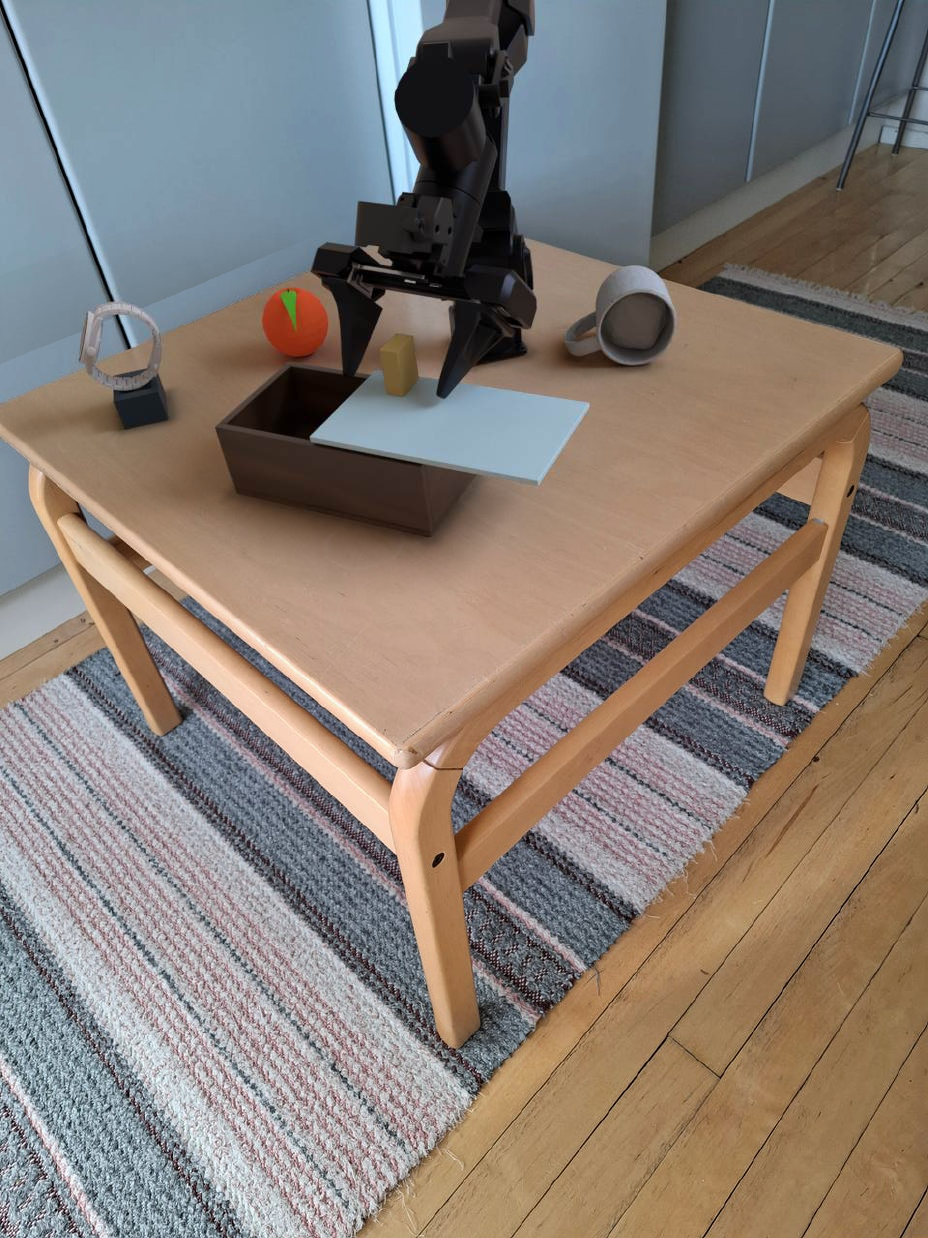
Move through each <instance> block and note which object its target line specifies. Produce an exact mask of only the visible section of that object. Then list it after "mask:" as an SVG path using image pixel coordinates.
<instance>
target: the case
mask: <svg viewBox="0 0 928 1238" xmlns="http://www.w3.org/2000/svg"><path fill="white" fill-rule="evenodd" d="M371 375H372V374H370V373H363V372H357V371H356V373H355V375H354V377H353V378H348V377H346V376H344V375H343V370H342V369H338V368H332V367H325V366H319V365H313V364H306V363H300V362H295V361H287V362H286V363H285V364H284V365H283V366H282V367H281V368H280V369H279V370H277V371H276V372H275V373H274V374H273V375H271V376H270V377H269V378H268V379H267V380H266V381H265V382H264V383H263V384H261V385H259V387H258V388H257V389H255V391H253V392H252V393H251V394H250V395H249V396H248V397H246V399H244V400H243V401H242V402H241V403H240V404H239V405H238V406H236V407H235V408H234V409H233V410H232V411H231V412H229V413H228V414H227V415H226V416H225V417H224V418H223V419H222V420H221V421H219V423H217V424H215V426H214V429H215V433H216V435H217V438H218V442H219V445H220V449H221V451H222V454H223V456H224V457H223V458H224V460H225V463H226V466H227V469H228V472H229V476H230V478H231V481H232V484H233V487H234V491H235V493H236V494H239V495H244V496H247V497H251V498H252V497H253V498H257V499H261V500H266V501H269V502H275V503H279V504H284V505H289V506H292V507H296V508H301V509H305V510H310V511H314V512H318V513H321V514H322V513H323V514H326V515H331V516H335V517H340V518H345V519H350V520H353V521H358V522H361V523H362V522H363V523H368V524H372V525H375V526H379V527H385V528H389V529H392V530H398V531H402V532H406V533H411V534H415V535H420V536H424V537H428V538H431V537H433V535H434V533H435V532H436V531H437V529H438V528H439V527H440V526H441V524H442V523H443V522H444V520H445V519H446V517H447V516H448V515H449V514H450V512H451V511H452V509H453V508H454V506H455V505H456V504H457V503H458V501H459V500H460V499H461V497H462V496H463V494H464V493H465V491H466V490H467V489H468V488H469V486H470V485H471V484H472V482H473V481H474V480H475V478H476V476H478V474H473V473H468V472H462V471H457V470H452V469H447V468H442V467H437V466H432V465H427V464H421V463H416V462H411V461H406V460H401V459H396V458H391V457H386V456H380V455H375V454H370V453H365V452H360V451H355V450H350V449H345V448H339V447H334V446H329V445H324V444H319V443H314V442H311V440H310V436H311V435H312V434H313V433H314V432H315V431H316V430H317V429H318V428H319V427H320V426H321V425H322V424H323V423H324V422H325V421H326V420H327V419H328V418H329V417H330V416H331V415H332V414H333V413H334V412H335V411H336V410H337V409H338V408H339V407H340V406H341V405H342V404H343V403H344V402H345V401H346V400H347V399H348V398H349V397H350V396H351V395H352V394H353V393H354V392H355V391H356V390H357V389H358V388H359V387H360V386H361V385H362V384H363V383H364V382H365V381H366V380H367V379H368V378H369V377H370V376H371Z"/></svg>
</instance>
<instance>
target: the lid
mask: <svg viewBox="0 0 928 1238" xmlns="http://www.w3.org/2000/svg"><path fill="white" fill-rule="evenodd" d="M379 357H380V364H381V369H382V370H381V369H376V370H374V371H373V372H372V373H371V374H370V375H371V376H370V377H369V378H368V379H367V380H366V381H365V382H364V383H363V384H362V385H361V386H360V387H359V388H358V389H357V390H356V391H355V392H354V393H353V394H352V395H351V396H350V397H349V398H348V399H347V400H346V401H345V402H344V403H343V404H342V405H341V406H340V407H339V408H338V409H337V410H336V411H335V412H334V413H333V414H332V415H331V416H330V417H329V418H328V419H327V420H326V421H325V422H324V423H323V424H322V425H321V426H320V427H319V428H318V429H317V430H316V431H315V432H314V433H313V434H312V435H311V436H310V440H311V442H314V443H319V444H324V445H329V446H334V447H339V448H345V449H350V450H355V451H360V452H365V453H370V454H375V455H380V456H386V457H391V458H396V459H401V460H406V461H411V462H416V463H421V464H427V465H432V466H437V467H442V468H447V469H452V470H457V471H462V472H468V473H473V474H477V476H478V475H479V476H483V477H489V478H494V479H499V480H505V481H509V482H515V483H520V484H524V485H530V486H533V487H534V486H535V487H539V486H540V484H541V482H542V481H543V480H544V478H545V476H546V475H547V474H548V471H549V470H550V469H551V468H552V466H553V465H554V463H555V461H556V460H557V458H558V457H559V455H560V454H561V452H562V450H563V449H564V447H565V446H566V445H567V443H568V442H569V440H570V438H571V436H572V435H573V434H574V432H575V430H576V429H577V427H578V426H579V424H580V423H581V421H582V420H583V418H584V417H585V415H586V414H587V412H588V411H589V409H590V403H589V402H587V401H580V400H574V399H567V398H560V397H556V396H555V397H554V396H548V395H542V394H535V393H530V392H524V391H523V392H522V391H516V390H509V389H503V388H496V387H491V386H485V385H478V384H471V383H466V382H460V383H459V384H458V385H457V386H456V387H455V388H454V390H453V391H452V392H451V393H450V394H449V395H448V397H447V398H446V399H441V398H439V397H438V396H437V395H436V391H437V386H438V381H439V378H433V377H425V376H421V375H419V370H418V369H419V367H418V360H417V353H416V346H415V339H414V335H412V334H404V333H395V334H394V335H393V336H392V337H391V338H390V339H388V340H387V342H386V343H385V344H384V345H383V346H382V347H381V348H380V349H379Z"/></svg>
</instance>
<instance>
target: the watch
mask: <svg viewBox="0 0 928 1238" xmlns="http://www.w3.org/2000/svg"><path fill="white" fill-rule="evenodd" d="M116 315H121V316H129V317H132V318H134V319H138V320H139V321H141V322H143V324H145V325H146V326H147V327H148V328H149V329H150V330H151V333H152V349H151V354H150V356H149V357H150V358H149V360H148V363H147V364H146V366H147V367H146V368H141V369H137V370H133V371H129V372H123V373H118V374H114V375H111V374H108V373H106V372H104V371H103V370H101V369H99V368H98V367H96V365H95V364H96V362H97V361H98V358H99V353H100V348H101V342H102V336H103V330H104V329H103V328H104V318H106V317H108V316H116ZM81 330H82V331H81V336H80V341H79V342H80V343H79V349H78V350H79V351H78V363H79V364H81V365H84V369H85V372H86V373H87V375H88V376H89V377H91V379H93V380H94V381H95V382H97V383H98V384H99V385H101V386H103V387H105V388H108V389H111V390H112V392H113V393H112V394H113V396H112V397H113V399H112V400H113V404H114V406H115V409H116V411H117V414H118V417H119V419H120V421H121V423H122V424H121V425H122V427H123V428H124V430H129V429H134V428H138V427H141V426H146V425H150V424H155V423H159V422H164V421H167V420H169V412H168V403H167V394H166V391H165V388H164V385H163V382H162V379H161V377H160V374H159V369H160V367H161V362H162V354H163V341H162V333H161V332H160V331H159V327H158V324H157V323H156V321H155V320H154V318H153V317H152V316H151V314H149V313H147V311H145V309H142V308H141V307H139V306H137V305H135V304H132V303H128V302H126V301H110V302H105V303H102V304H99V305H97V306H96V307H95V308H94V309H93V311H90V310H88V311H87V312H86V314H85V317H84V321H83V325H82V329H81Z"/></svg>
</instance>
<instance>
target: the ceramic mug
mask: <svg viewBox="0 0 928 1238" xmlns="http://www.w3.org/2000/svg"><path fill="white" fill-rule="evenodd" d="M677 319H678V318H677V313H676V309H675V307H674V304H673V302H672V299H671V296H670V293H669V291H668V289H667V286H666V284H665V282H664V281H663V279H662V278H661V276H659V275H658V274H657V273H656V272H655V271H654V270H652V269H650V268H648V267H646V266H644V265H637V264H631V265H625V266H622V267H620V268H619V267H618V268H617V269H616V270H614V271H613V272H611V273H610V274H609V275H608V276H606V278H605V279H604V280H603V282H602V283H601V285H600V287H599V289H598V291H597V295H596V297H595V310H594V311H593V312H590V313H589V314H587V315H585V316H583V317H581V318H580V319H578V320H577V321H575V322H574V323H573V324H572V325H571V326H570V327H569V328H568V330H566V332H565V334H564V337H563V342H564V345H565V347H566V349H567V351H568V353H569V354H570V355H571V356H575V357H582V356H583V357H584V356H587V355H590V354H593V353H596V352H598V351H602V353H603V354H604V355H605V356H606V357H607V358H609V360H611V361H613V362H615V363H617V364H621V365H625V366H641V365H646V364H648V363H651V362H652V361H654V360H656V359H658V358H659V357H661V356H662V355H663V354H664V353H665V352H666V351H667V349H668V348H669V347H670V346H671V344H672V342H673V340H674V338H675V335H676V332H677V325H678V324H677V323H678V321H677ZM594 328H595V332H596V333H595V334H593V335H592V336H590V337H587V338H584V339H581V340H578V339H579V338H581V336H582V335H584V334H586V333H588V332H589V331H591V330H592V329H594Z"/></svg>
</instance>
